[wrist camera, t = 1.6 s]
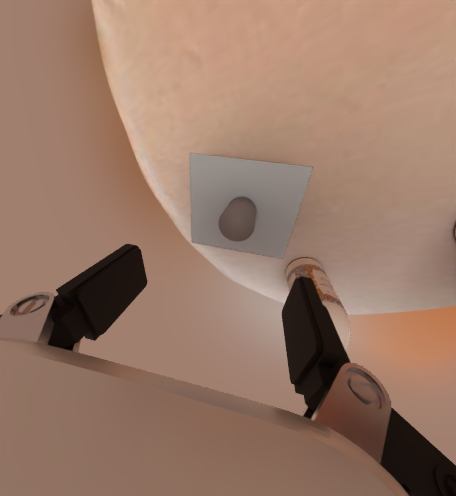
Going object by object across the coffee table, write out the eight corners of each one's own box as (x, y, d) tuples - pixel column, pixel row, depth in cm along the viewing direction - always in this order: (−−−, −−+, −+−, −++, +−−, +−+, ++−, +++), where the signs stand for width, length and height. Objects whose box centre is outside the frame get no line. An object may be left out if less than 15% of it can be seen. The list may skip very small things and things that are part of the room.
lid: (310, 166, 19) (329, 170, 14) (282, 255, 25) (287, 281, 20) (192, 153, 20) (169, 152, 15) (193, 239, 27) (177, 259, 21)
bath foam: (329, 267, 32) (405, 393, 15) (305, 288, 36) (343, 408, 19) (301, 250, 32) (346, 361, 15) (279, 273, 35) (294, 384, 18)
